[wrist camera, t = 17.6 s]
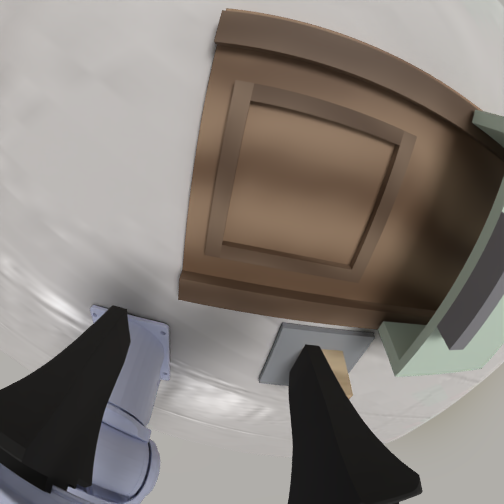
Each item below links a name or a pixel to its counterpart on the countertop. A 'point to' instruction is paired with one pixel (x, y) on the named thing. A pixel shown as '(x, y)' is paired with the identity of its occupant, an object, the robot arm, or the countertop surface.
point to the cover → (460, 302)
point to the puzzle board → (331, 179)
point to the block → (339, 369)
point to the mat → (299, 335)
